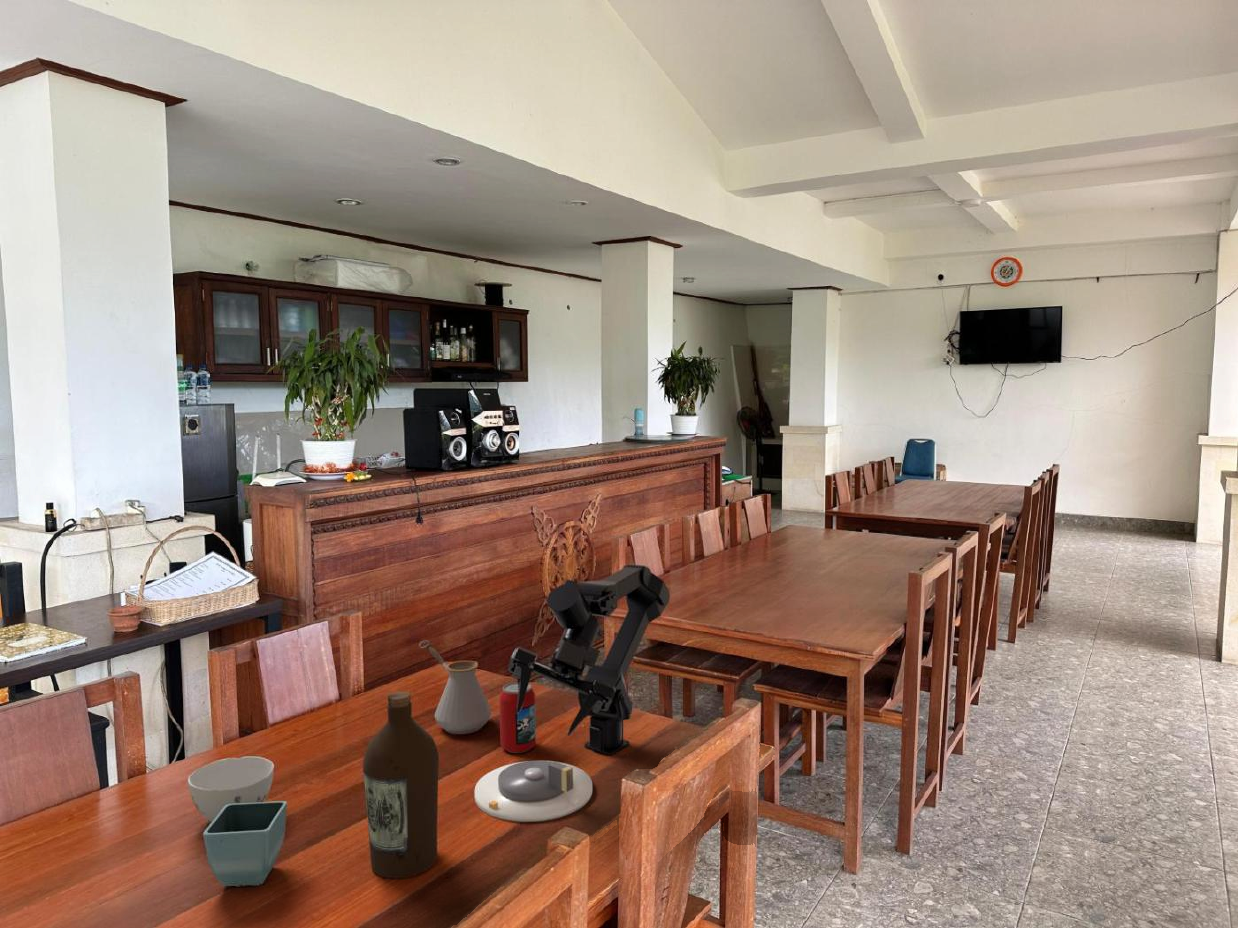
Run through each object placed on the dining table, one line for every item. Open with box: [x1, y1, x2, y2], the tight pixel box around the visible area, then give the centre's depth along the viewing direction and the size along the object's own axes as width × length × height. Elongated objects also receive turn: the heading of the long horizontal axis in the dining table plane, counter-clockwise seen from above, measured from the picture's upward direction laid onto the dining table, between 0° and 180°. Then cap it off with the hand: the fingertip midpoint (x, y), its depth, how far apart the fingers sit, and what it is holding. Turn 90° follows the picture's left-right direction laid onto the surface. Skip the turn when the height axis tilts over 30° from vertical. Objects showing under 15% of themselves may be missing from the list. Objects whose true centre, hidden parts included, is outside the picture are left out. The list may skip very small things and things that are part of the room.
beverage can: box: [499, 681, 537, 754], centre depth 162 cm, size 7×7×12 cm
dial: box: [498, 760, 573, 802], centre depth 143 cm, size 14×12×5 cm
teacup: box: [187, 755, 275, 823], centre depth 137 cm, size 15×12×8 cm
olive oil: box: [362, 691, 440, 880], centre depth 123 cm, size 11×11×25 cm
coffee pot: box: [418, 639, 493, 735], centre depth 176 cm, size 21×12×15 cm, turn 43°
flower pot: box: [202, 800, 288, 887], centre depth 120 cm, size 9×9×9 cm
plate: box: [474, 760, 593, 823], centre depth 144 cm, size 20×20×2 cm
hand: (543, 723), depth 141 cm, fingers open, 9 cm apart
